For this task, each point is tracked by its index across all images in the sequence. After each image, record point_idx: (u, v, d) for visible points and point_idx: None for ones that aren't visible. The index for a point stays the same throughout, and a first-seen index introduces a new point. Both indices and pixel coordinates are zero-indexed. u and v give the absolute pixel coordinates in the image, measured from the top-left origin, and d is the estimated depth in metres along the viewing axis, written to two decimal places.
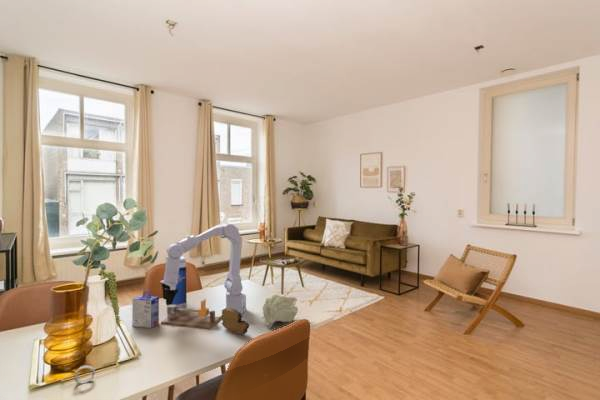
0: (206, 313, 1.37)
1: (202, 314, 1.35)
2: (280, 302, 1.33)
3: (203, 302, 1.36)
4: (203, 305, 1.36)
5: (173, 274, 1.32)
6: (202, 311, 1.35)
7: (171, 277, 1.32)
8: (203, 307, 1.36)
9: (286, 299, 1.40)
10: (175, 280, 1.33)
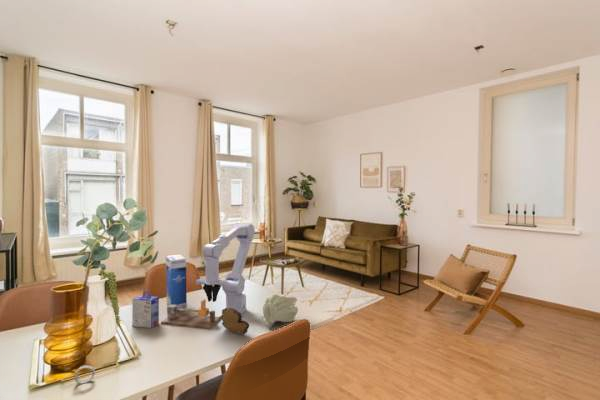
0: (206, 313, 1.37)
1: (202, 314, 1.35)
2: (280, 302, 1.33)
3: (203, 302, 1.36)
4: (203, 305, 1.36)
5: (218, 273, 1.35)
6: (202, 311, 1.35)
7: (217, 275, 1.34)
8: (203, 307, 1.36)
9: (286, 299, 1.40)
10: (218, 278, 1.36)
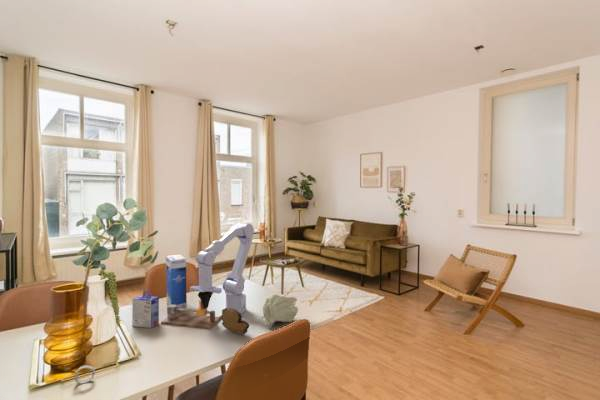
0: (204, 313, 1.37)
1: (200, 314, 1.35)
2: (280, 302, 1.33)
3: (201, 302, 1.36)
4: (201, 305, 1.36)
5: (211, 280, 1.36)
6: (200, 311, 1.35)
7: (211, 282, 1.35)
8: (201, 307, 1.36)
9: (286, 299, 1.40)
10: None
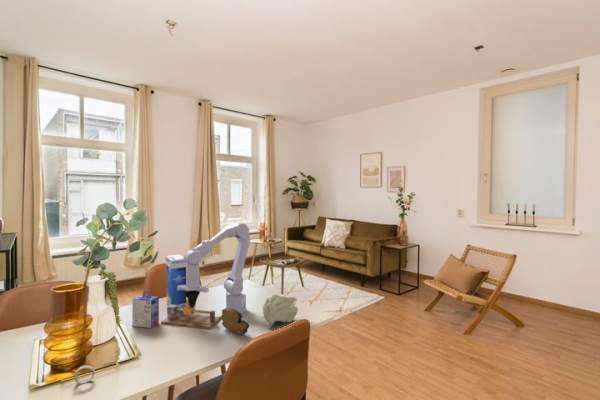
0: (192, 312, 1.38)
1: (188, 313, 1.37)
2: (280, 302, 1.33)
3: None
4: (189, 304, 1.37)
5: (198, 279, 1.37)
6: (188, 310, 1.36)
7: (198, 282, 1.36)
8: (189, 306, 1.37)
9: (286, 299, 1.40)
10: None
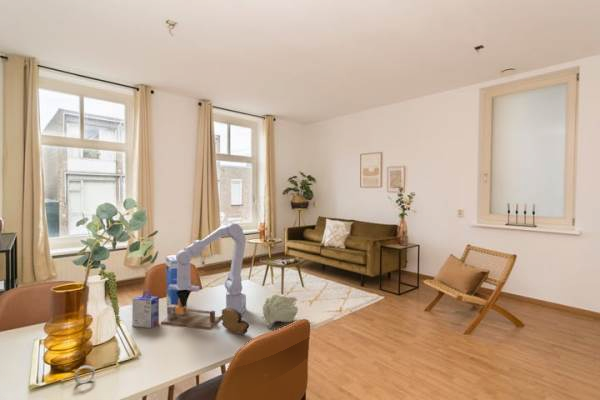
0: (183, 311, 1.39)
1: (179, 312, 1.37)
2: (280, 302, 1.33)
3: None
4: (180, 303, 1.38)
5: (189, 278, 1.38)
6: (179, 309, 1.37)
7: (189, 281, 1.37)
8: (180, 305, 1.38)
9: (286, 299, 1.40)
10: (190, 283, 1.39)
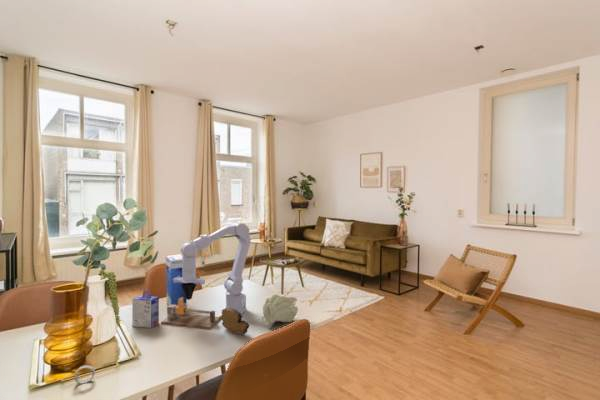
0: (184, 311, 1.39)
1: (179, 312, 1.37)
2: (280, 302, 1.33)
3: (180, 300, 1.38)
4: (180, 303, 1.38)
5: (195, 271, 1.37)
6: (179, 309, 1.37)
7: (194, 274, 1.37)
8: (180, 305, 1.38)
9: (286, 299, 1.40)
10: (195, 276, 1.39)
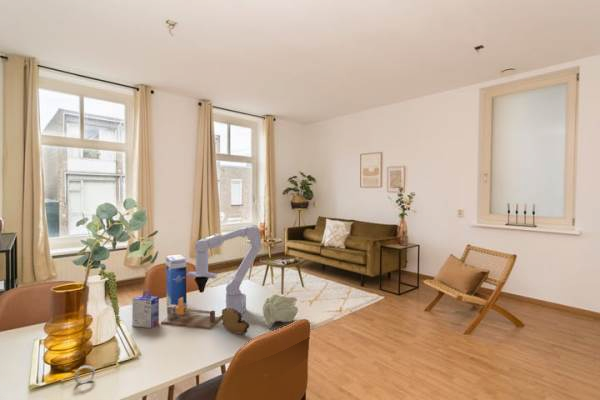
0: (184, 311, 1.39)
1: (179, 312, 1.37)
2: (280, 302, 1.33)
3: (180, 300, 1.38)
4: (180, 303, 1.38)
5: (207, 266, 1.47)
6: (179, 309, 1.37)
7: (207, 268, 1.46)
8: (180, 305, 1.38)
9: (286, 299, 1.40)
10: (207, 271, 1.48)
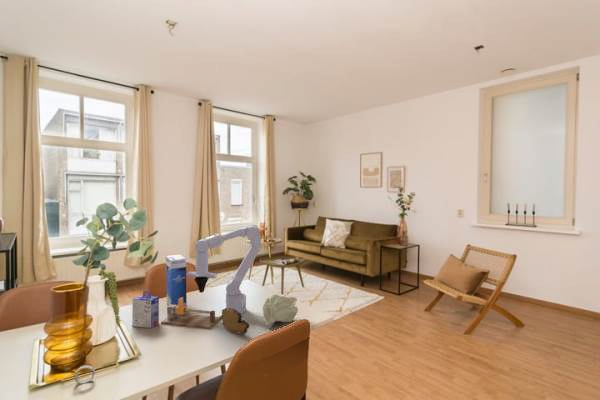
0: (184, 311, 1.39)
1: (179, 312, 1.37)
2: (280, 302, 1.33)
3: (180, 300, 1.38)
4: (180, 303, 1.38)
5: (207, 266, 1.47)
6: (179, 309, 1.37)
7: (207, 268, 1.46)
8: (180, 305, 1.38)
9: (286, 299, 1.40)
10: (207, 271, 1.48)
